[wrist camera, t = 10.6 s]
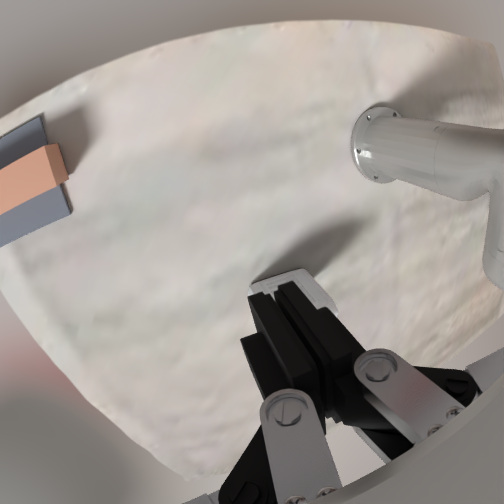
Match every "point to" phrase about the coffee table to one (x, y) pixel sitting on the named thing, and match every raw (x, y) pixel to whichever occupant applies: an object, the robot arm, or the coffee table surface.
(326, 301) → the photo printer
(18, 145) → the mat
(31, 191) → the terracotta block
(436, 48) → the coffee table surface
